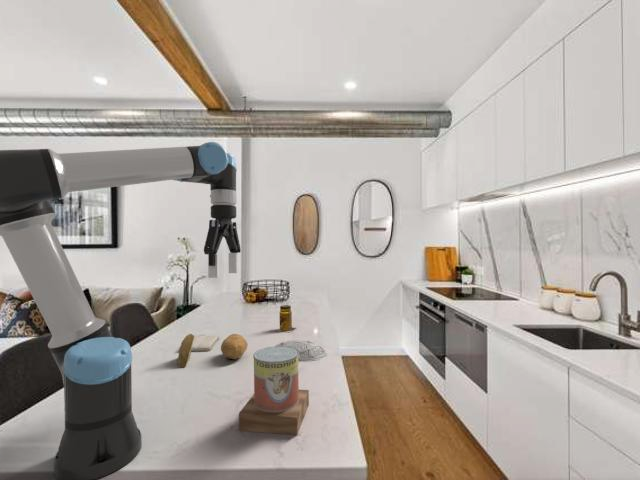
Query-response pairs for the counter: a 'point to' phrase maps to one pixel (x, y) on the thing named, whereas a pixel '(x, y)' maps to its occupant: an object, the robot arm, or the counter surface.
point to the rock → (185, 350)
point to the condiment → (285, 319)
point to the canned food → (276, 379)
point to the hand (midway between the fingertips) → (224, 275)
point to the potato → (234, 346)
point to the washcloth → (204, 342)
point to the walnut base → (274, 417)
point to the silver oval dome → (306, 349)
